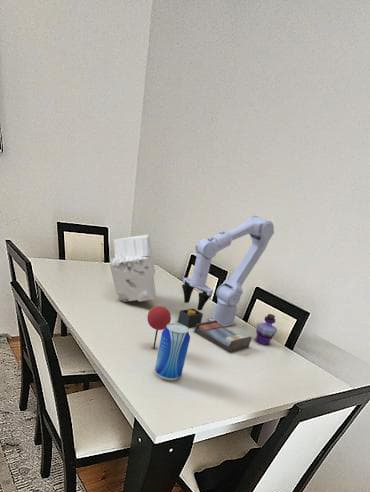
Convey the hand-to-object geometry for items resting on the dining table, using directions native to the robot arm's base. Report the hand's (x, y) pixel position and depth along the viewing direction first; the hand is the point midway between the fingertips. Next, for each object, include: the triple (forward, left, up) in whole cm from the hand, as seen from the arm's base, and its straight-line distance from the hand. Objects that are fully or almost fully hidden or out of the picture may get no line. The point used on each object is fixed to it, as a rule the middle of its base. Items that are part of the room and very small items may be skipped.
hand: (192, 306), depth 155 cm
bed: (-2, +17, -8) cm, 18 cm away
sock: (0, 0, -7) cm, 7 cm away
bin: (0, 0, -8) cm, 8 cm away
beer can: (+38, +28, -8) cm, 48 cm away
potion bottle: (-19, +25, -8) cm, 32 cm away
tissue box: (+8, -30, -8) cm, 32 cm away
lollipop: (+30, +12, -8) cm, 33 cm away
